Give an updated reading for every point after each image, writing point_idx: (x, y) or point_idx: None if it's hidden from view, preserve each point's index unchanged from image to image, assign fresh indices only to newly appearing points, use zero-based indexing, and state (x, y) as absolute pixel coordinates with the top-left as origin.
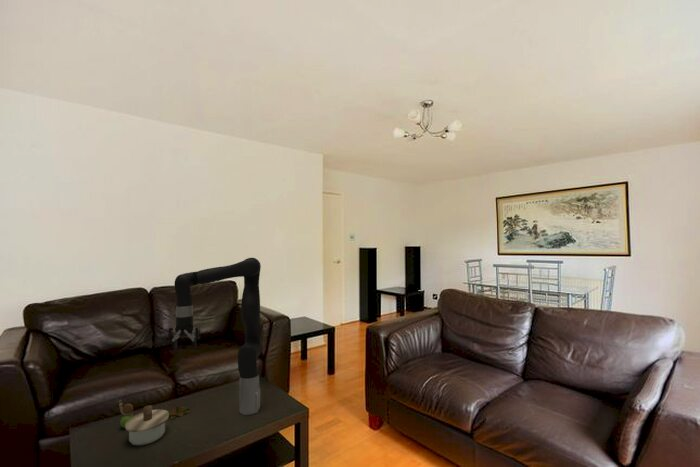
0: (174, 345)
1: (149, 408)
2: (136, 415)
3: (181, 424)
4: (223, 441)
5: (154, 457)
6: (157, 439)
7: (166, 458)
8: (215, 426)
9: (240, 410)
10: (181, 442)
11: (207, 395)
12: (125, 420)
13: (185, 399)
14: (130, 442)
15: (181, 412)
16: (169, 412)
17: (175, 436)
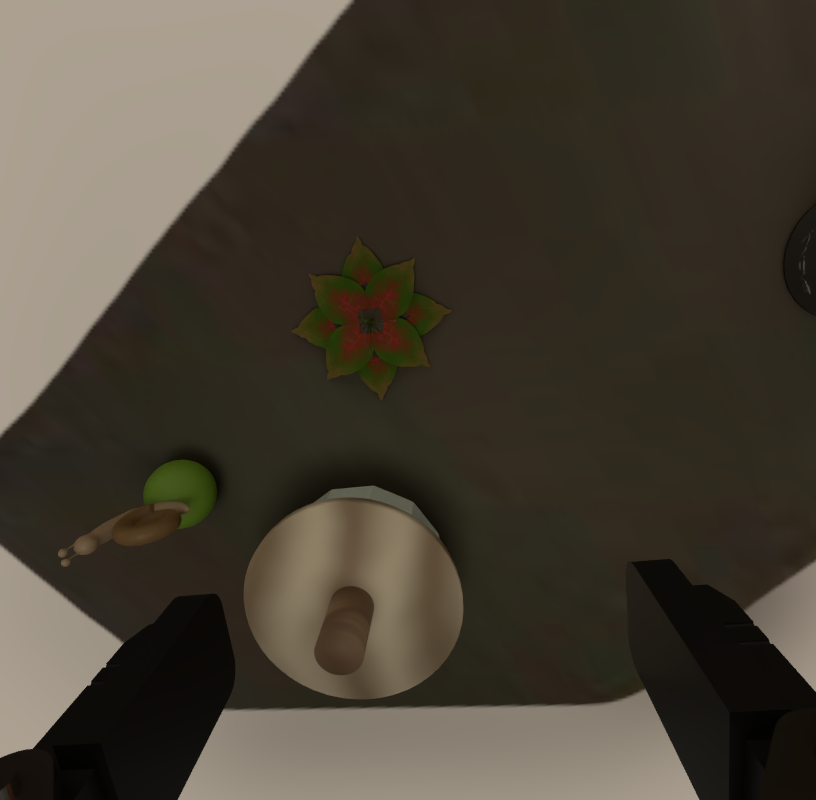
0: (180, 766)
1: (361, 664)
2: (255, 574)
3: (473, 441)
4: (781, 574)
5: (506, 684)
6: None
7: (563, 689)
8: (683, 450)
9: (811, 305)
10: (566, 588)
11: (438, 46)
12: (185, 526)
13: (307, 131)
14: None
15: (397, 323)
16: (318, 323)
17: (507, 545)
